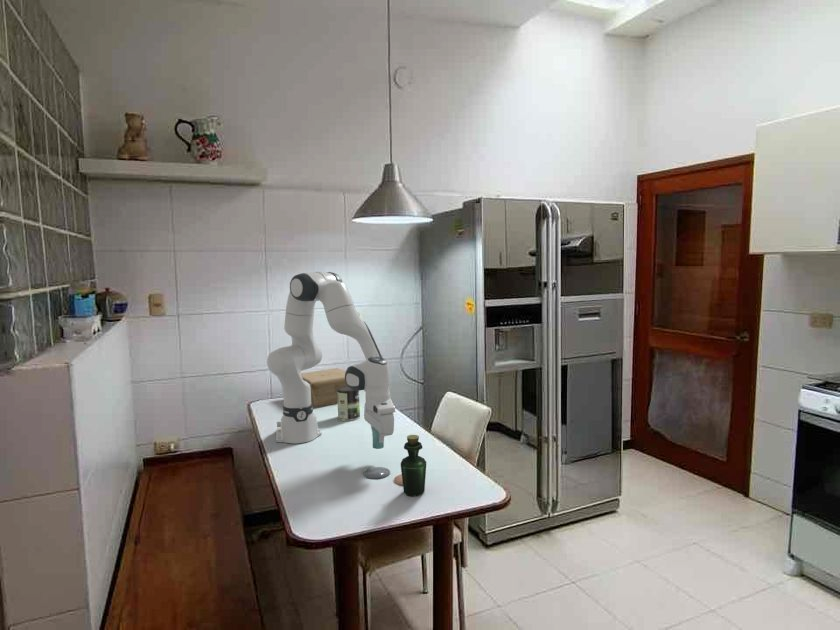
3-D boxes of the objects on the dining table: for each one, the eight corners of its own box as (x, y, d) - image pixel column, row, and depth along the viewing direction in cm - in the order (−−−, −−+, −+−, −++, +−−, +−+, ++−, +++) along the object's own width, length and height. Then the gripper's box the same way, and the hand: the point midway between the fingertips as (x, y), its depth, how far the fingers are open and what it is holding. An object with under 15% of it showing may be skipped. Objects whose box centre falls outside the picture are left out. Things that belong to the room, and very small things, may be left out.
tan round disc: (389, 477, 174) (389, 476, 174) (414, 472, 178) (414, 471, 178) (401, 488, 166) (400, 487, 166) (426, 482, 170) (425, 481, 170)
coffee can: (361, 414, 246) (360, 385, 244) (358, 421, 236) (357, 390, 234) (339, 414, 246) (338, 385, 245) (336, 421, 236) (334, 391, 234)
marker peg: (371, 445, 189) (370, 427, 188) (381, 443, 190) (381, 425, 190) (375, 449, 185) (374, 430, 184) (385, 447, 187) (385, 429, 186)
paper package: (338, 390, 292) (337, 366, 290) (359, 400, 271) (359, 374, 270) (292, 398, 277) (290, 373, 275) (311, 409, 256) (310, 382, 254)
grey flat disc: (360, 471, 180) (359, 470, 180) (384, 466, 184) (383, 465, 184) (369, 481, 172) (369, 479, 172) (394, 475, 176) (394, 474, 176)
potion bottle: (400, 487, 167) (399, 433, 165) (426, 485, 167) (424, 431, 165) (401, 498, 159) (400, 442, 157) (428, 497, 159) (427, 440, 157)
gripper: (359, 396, 194) (360, 431, 195) (380, 411, 175) (380, 450, 177) (375, 394, 196) (375, 429, 198) (397, 409, 178) (397, 447, 180)
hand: (378, 439), depth 187 cm, fingers closed on marker peg, 4 cm apart
